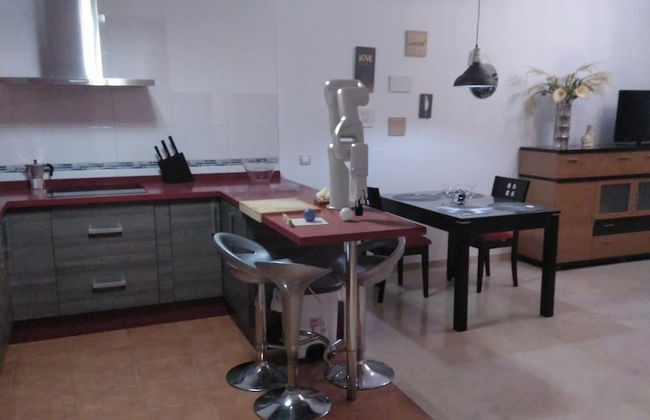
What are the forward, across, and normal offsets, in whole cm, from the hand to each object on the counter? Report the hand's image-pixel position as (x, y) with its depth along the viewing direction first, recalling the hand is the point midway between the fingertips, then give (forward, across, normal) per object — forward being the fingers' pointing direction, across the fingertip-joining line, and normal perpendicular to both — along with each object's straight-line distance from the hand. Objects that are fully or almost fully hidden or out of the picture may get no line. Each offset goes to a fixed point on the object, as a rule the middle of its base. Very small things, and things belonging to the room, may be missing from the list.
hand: (358, 215), depth 228 cm
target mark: (+2, 0, -22) cm, 22 cm away
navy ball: (-1, 0, -21) cm, 21 cm away
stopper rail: (+2, 0, -31) cm, 31 cm away
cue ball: (-1, +2, -6) cm, 7 cm away
